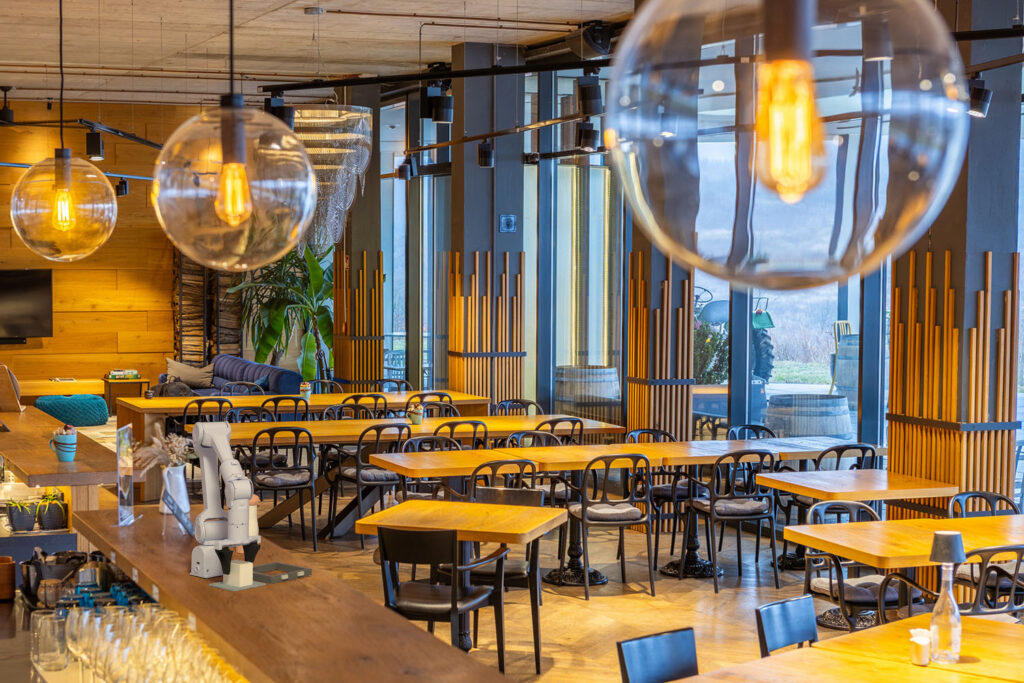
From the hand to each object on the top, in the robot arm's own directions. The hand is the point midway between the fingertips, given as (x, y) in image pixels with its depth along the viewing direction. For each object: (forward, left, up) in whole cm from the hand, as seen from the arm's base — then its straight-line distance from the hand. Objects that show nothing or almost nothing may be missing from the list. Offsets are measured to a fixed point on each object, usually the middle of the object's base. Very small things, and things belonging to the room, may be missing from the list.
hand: (237, 572), depth 316 cm
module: (0, 0, -3) cm, 3 cm away
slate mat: (0, 0, -4) cm, 4 cm away
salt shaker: (+34, +37, -4) cm, 50 cm away
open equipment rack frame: (+15, +2, -4) cm, 16 cm away
